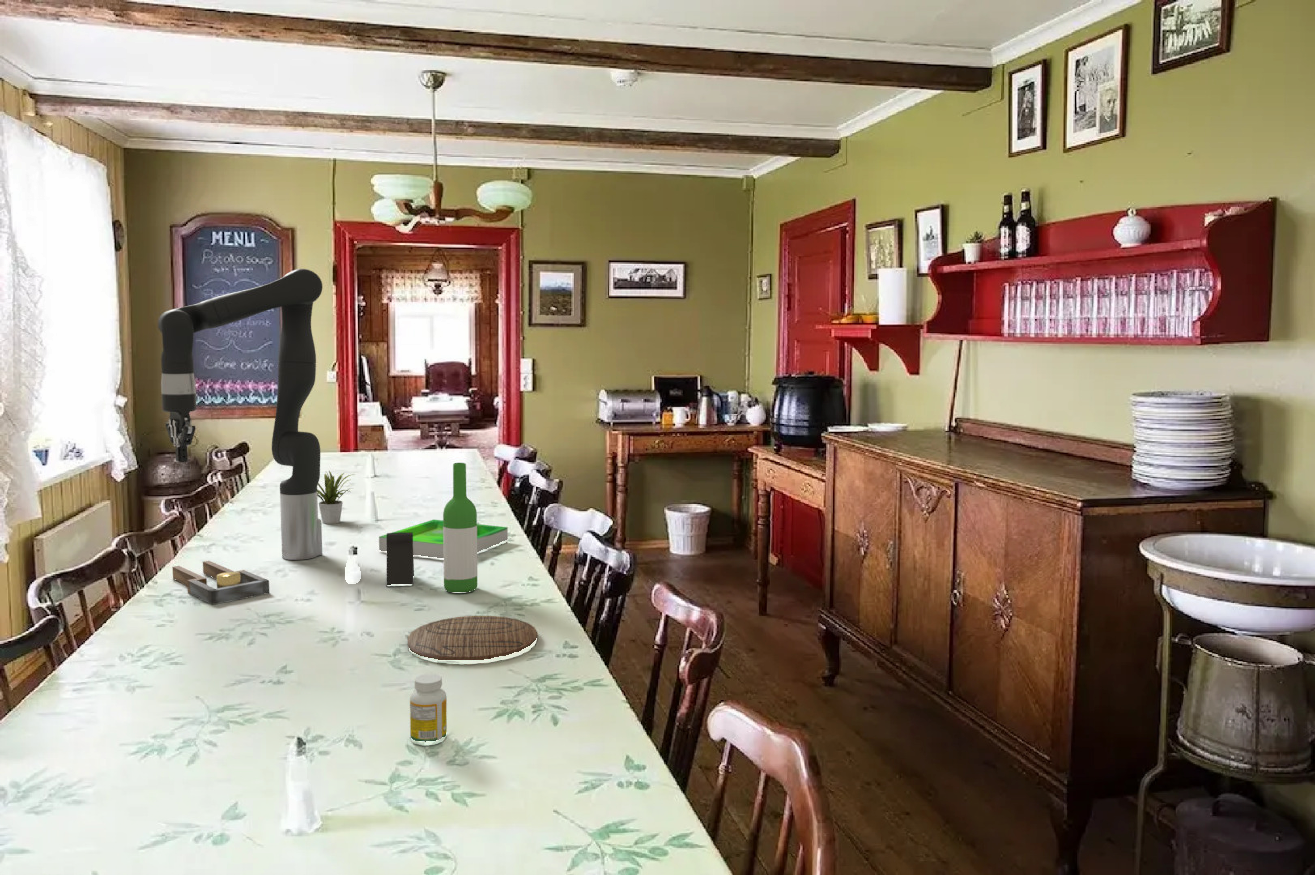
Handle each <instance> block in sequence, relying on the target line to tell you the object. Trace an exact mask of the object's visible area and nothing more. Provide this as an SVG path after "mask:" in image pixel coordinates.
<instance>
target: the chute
mask: <svg viewBox="0 0 1315 875" xmlns="http://www.w3.org/2000/svg"><path fill="white" fill-rule="evenodd" d="M171 569H172V579H173V580H174V579H176V580H177V582H178V581H179V583H180V582H181V584H182V585H184V584H185V586H186V585H187V586H186V588H187V594H189V593H190V594H189V595H191V594H192V595H191V596H193V597H195V596H196V597H195V598H197V597H198V598H197V599H200V601H203V602H205V601H206V602H205V603H207V602H208V604H209V605H213V606H214V605H218V604H223V603H226V602H227V601H228V602H232V601H237V600H242V598H243V599H246V597H248V598H252V597H251V596H253V597H257V595H258V596H262V595H261V594H263V595H265V594H264V593H268V594H270V580H269V579H267V578H265V577H262V576H259V575H258V574H255V573H253V572H251V571H248V570H245V569H241V570H237V571H236V570H235V571H234V570H232V569H230V568H228V567H224V566H223V565H221V564H217V563H216V562H213V561H211V560H205V561H202V572H203V573H204V574H203V573H202V574H203V575H205V574H206V576H207V575H210V576H212V577H213V578H212V577H211V578H212V579H214V578H215V580H216V579H217V577H216V576H217V575H218V574H221V573H226V572H238V573H240V575H241V584H238V585H233V586H227V587H222V588H217V587H216V588H215V587H212V586H210V585H208V581H207V580H208V579H207V578H206V577H205V576H202V575H200V574H198V573H195V572H194V571H192V570H190V569H187V568H185V567H184V566H183V567H182V566H180V565H177V566H176V565H175V566H172V568H171ZM210 576H209V577H210ZM176 580H175V581H176ZM222 602H223V603H222Z"/></svg>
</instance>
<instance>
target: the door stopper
mask: <svg viewBox="0 0 1315 875" xmlns="http://www.w3.org/2000/svg"><path fill="white" fill-rule="evenodd" d="M386 534H387V554H386V586H387V585H391V584H413V585H414V581H413V576H414V577H415V566H414V565H415V562H414V558H415V557H413V532H409V533H392V532H387V533H386Z"/></svg>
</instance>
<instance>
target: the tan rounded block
mask: <svg viewBox="0 0 1315 875" xmlns="http://www.w3.org/2000/svg"><path fill="white" fill-rule="evenodd" d="M216 577H217V580H216V589H217V588H222V587H227V586H233V585H238V584H241V575H240V573H238V572H235V571H234V572H226V573H221V574H218V575H217V576H216Z"/></svg>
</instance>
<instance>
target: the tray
mask: <svg viewBox="0 0 1315 875" xmlns="http://www.w3.org/2000/svg"><path fill="white" fill-rule="evenodd" d="M409 532H413V555H421V556H428V557H437V558H444V554H443V520H441V519H430V520H427V521H424V522H421V523H419V524H415V525H412V526H409V527H405V528H402V529H400V530H399V529H398V530H395V531H392V532H391V533H409ZM508 534H509V533H508V527H507V526H497V525H490V524H480V523H477V552H479V551H481V550H483V549H487V548H489V547H491V546H493V545H496V544H499V543H500V542H502V541H505V540H507V539H508ZM508 540H509V539H508ZM378 543H379V544H378V547H379V548H378V551H379V550H381V551H387V533H386V534H383V535H381V536H378Z"/></svg>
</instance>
